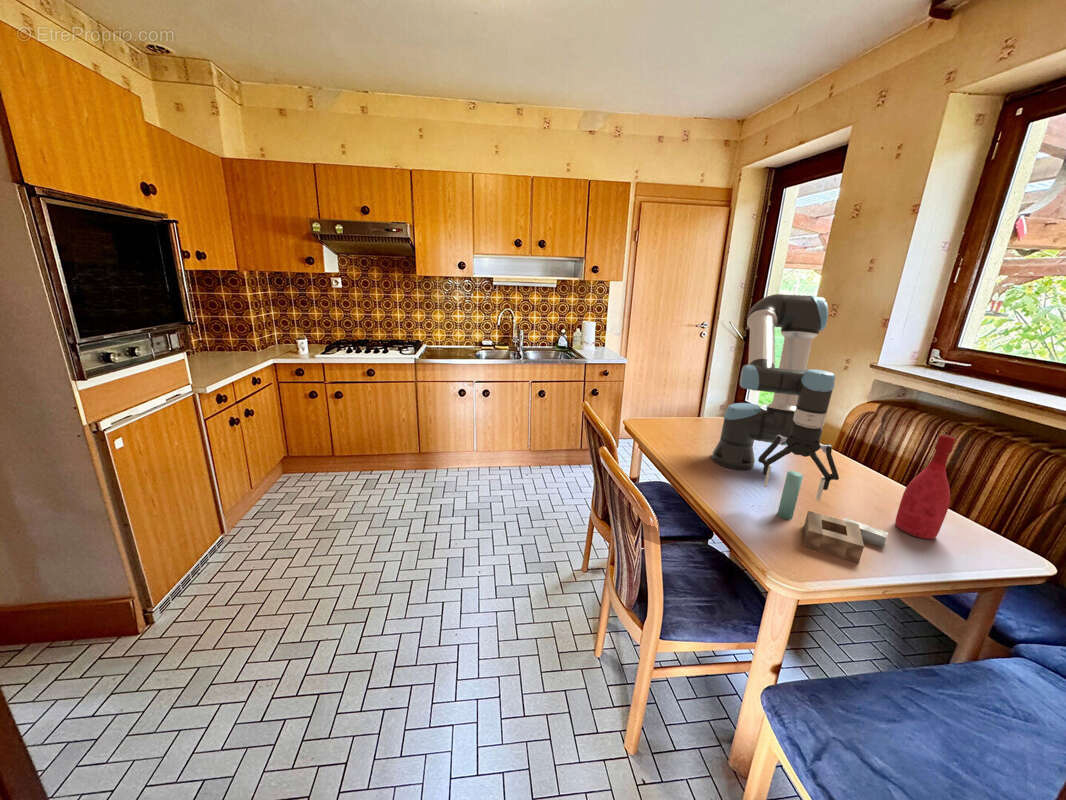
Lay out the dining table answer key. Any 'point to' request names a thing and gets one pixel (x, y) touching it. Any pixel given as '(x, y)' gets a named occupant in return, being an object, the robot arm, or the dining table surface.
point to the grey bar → (871, 534)
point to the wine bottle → (927, 496)
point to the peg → (790, 495)
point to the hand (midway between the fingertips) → (791, 491)
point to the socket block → (833, 536)
